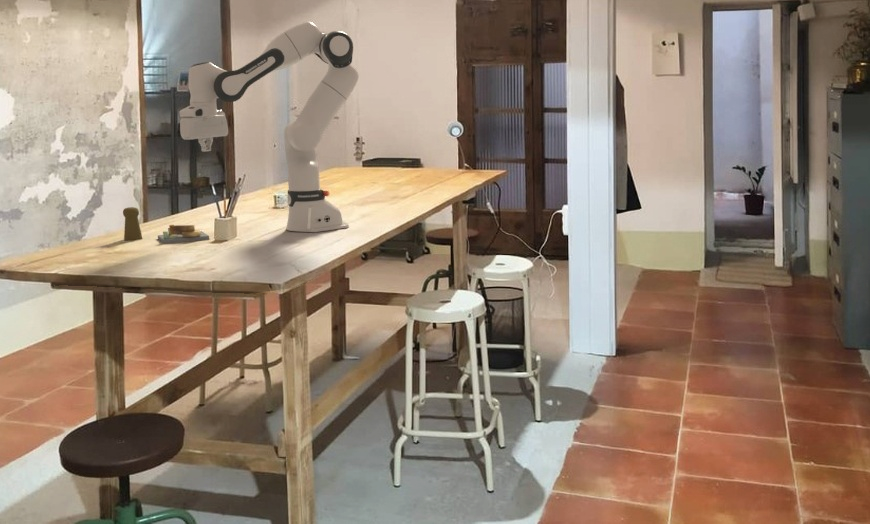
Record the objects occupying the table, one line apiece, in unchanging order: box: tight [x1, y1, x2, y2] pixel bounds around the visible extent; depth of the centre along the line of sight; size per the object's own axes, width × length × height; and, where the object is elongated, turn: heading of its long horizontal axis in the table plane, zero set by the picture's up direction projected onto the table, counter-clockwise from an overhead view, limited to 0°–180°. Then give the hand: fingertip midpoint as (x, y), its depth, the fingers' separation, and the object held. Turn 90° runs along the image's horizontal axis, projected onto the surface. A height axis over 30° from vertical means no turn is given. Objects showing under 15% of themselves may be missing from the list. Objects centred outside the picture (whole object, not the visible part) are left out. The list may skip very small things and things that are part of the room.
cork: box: [122, 206, 143, 242], centre depth 306 cm, size 6×6×11 cm
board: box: [157, 227, 210, 245], centre depth 305 cm, size 15×11×4 cm
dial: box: [168, 224, 201, 237], centre depth 303 cm, size 10×6×4 cm, turn 88°
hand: (206, 151), depth 308 cm, fingers closed
